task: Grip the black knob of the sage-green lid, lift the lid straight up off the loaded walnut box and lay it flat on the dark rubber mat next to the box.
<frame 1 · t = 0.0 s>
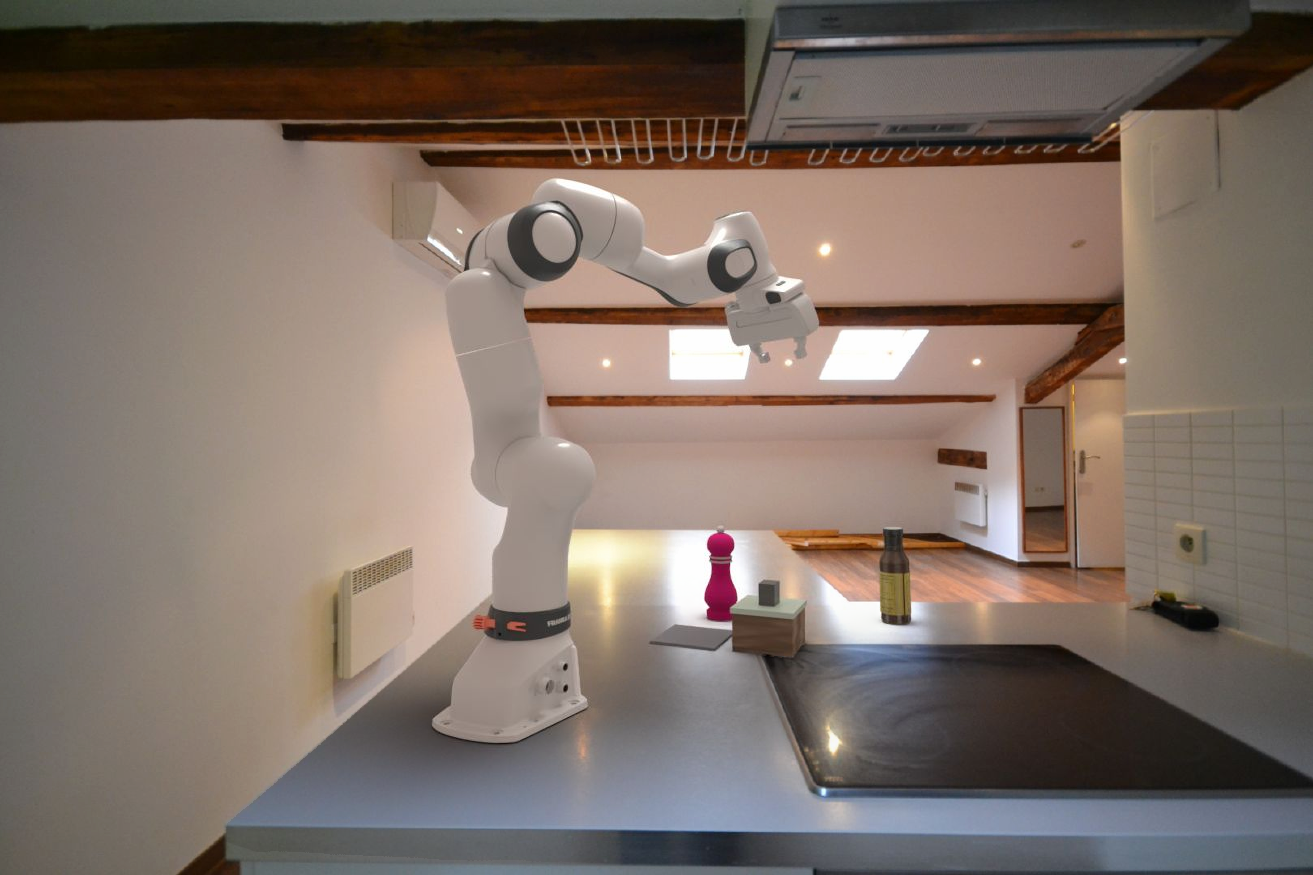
hand: (783, 360, 139), 54 cm above the counter, fingers open, 8 cm apart
box: (769, 646, 131), on the counter
sauce bottle: (895, 622, 148), on the counter
mat: (693, 638, 137), on the counter
pepper mill: (720, 618, 152), on the counter
lid: (769, 614, 131), point 6 cm above the counter, touching box
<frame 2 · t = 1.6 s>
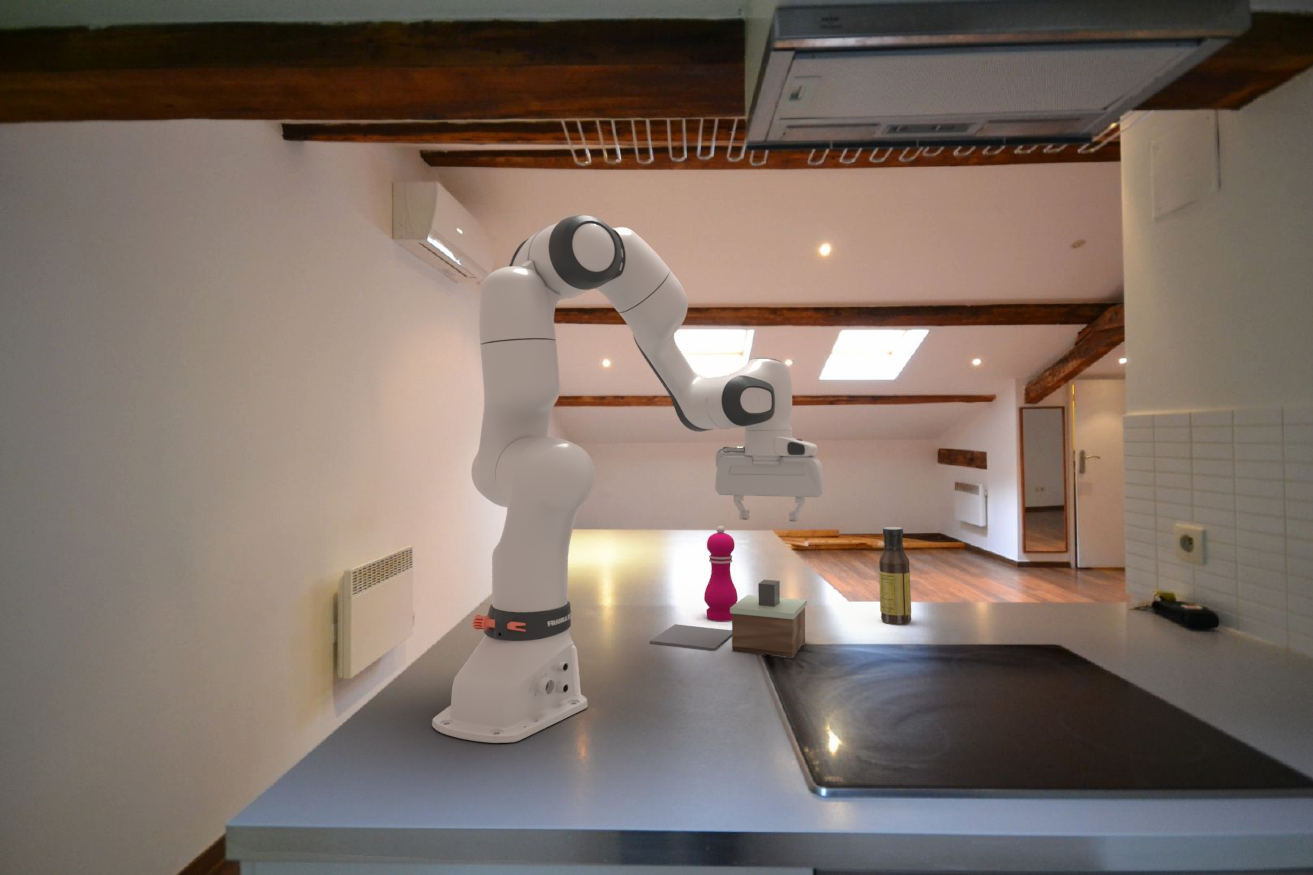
hand: (769, 520, 131), 23 cm above the counter, fingers open, 8 cm apart
nothing on the counter moved.
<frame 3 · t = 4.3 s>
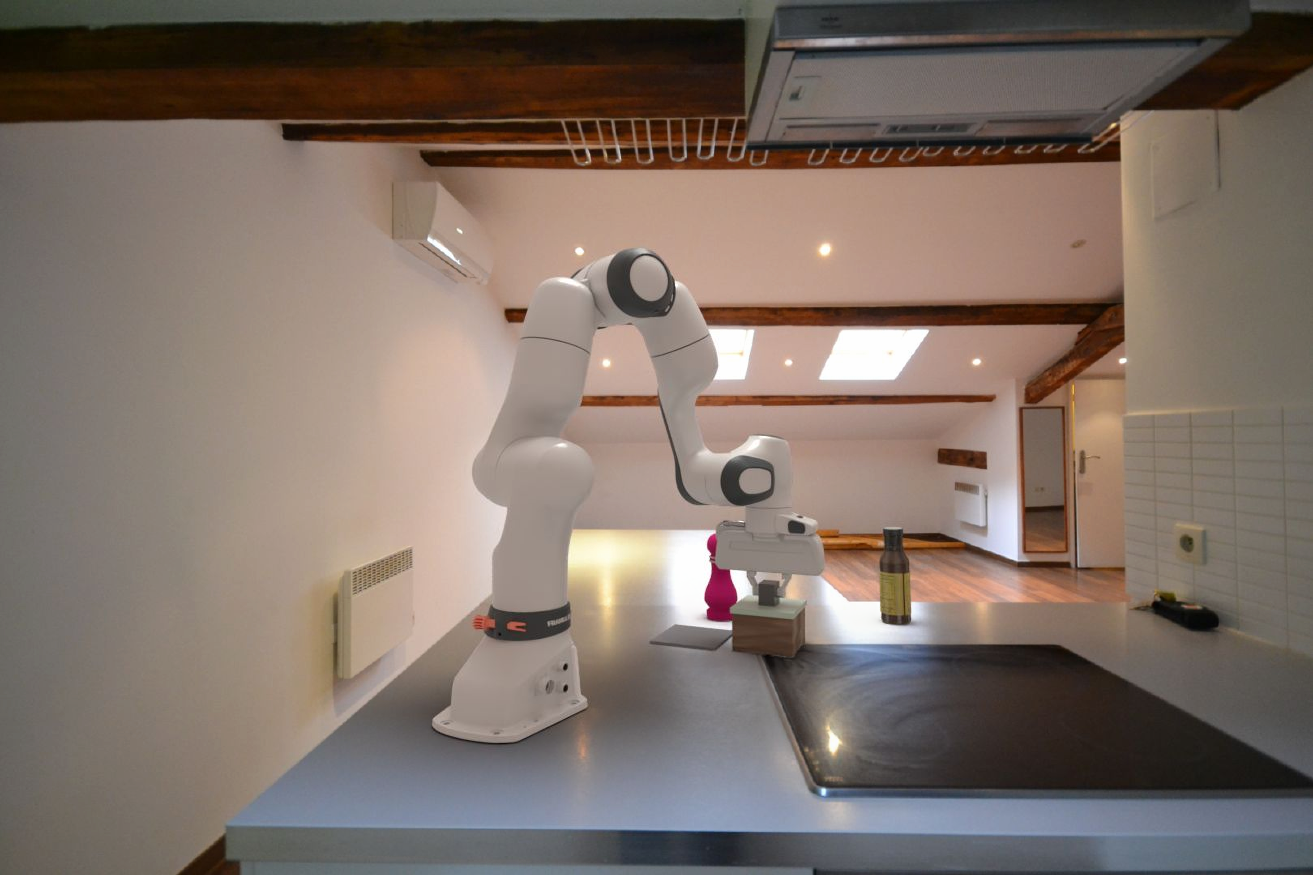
hand: (769, 596, 131), 9 cm above the counter, fingers closed on lid, 3 cm apart
lid: (769, 614, 131), point 6 cm above the counter, touching box, gripper
everything else where it was.
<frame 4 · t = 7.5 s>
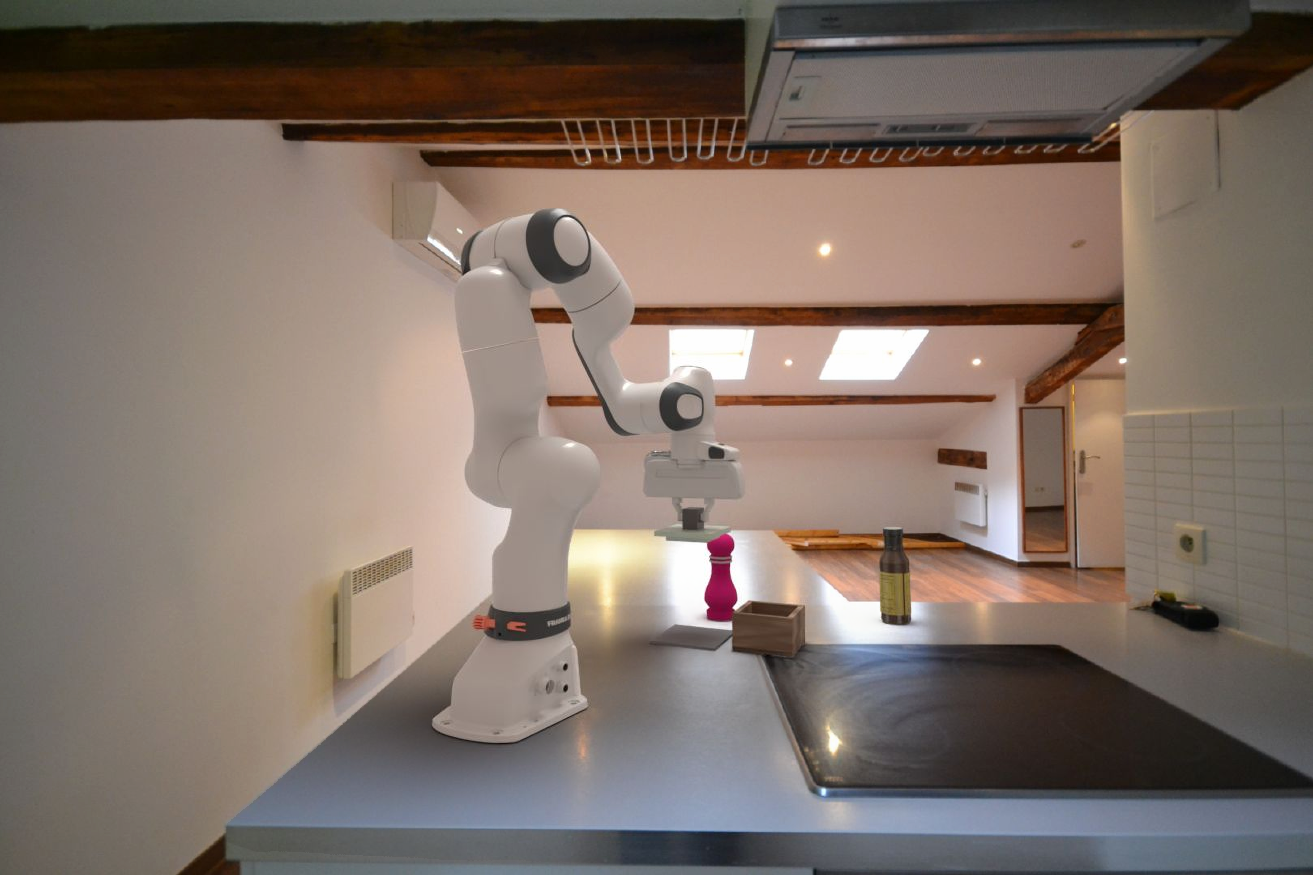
hand: (693, 521, 137), 23 cm above the counter, fingers closed on lid, 3 cm apart
lid: (693, 538, 137), point 19 cm above the counter, touching gripper
everything else where it was.
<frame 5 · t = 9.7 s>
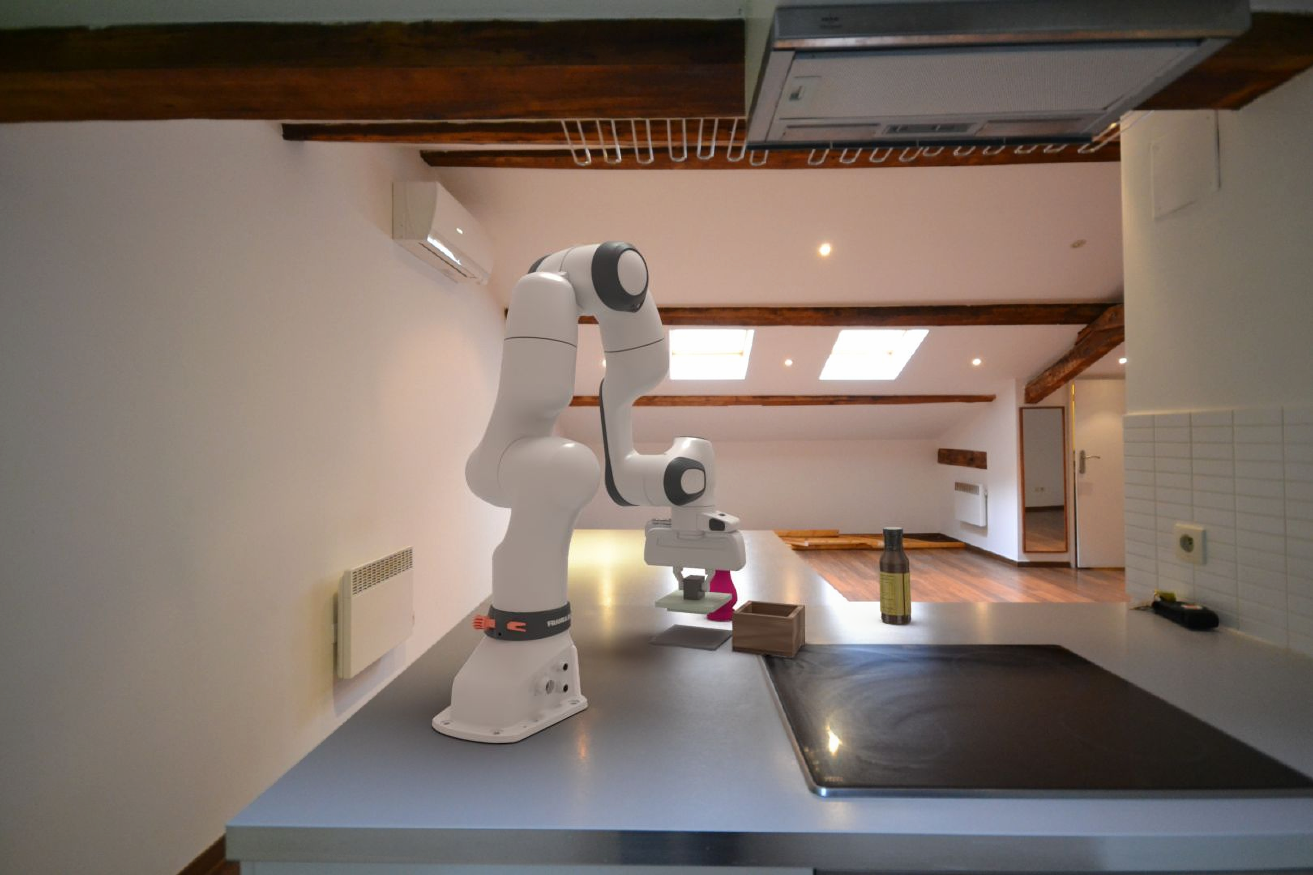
hand: (694, 590, 137), 9 cm above the counter, fingers closed on lid, 3 cm apart
lid: (694, 607, 137), point 6 cm above the counter, touching gripper
everything else where it was.
when the fingers open (5 cm above the counter, at t = 11.3 s): lid drops 1 cm, resting on mat.
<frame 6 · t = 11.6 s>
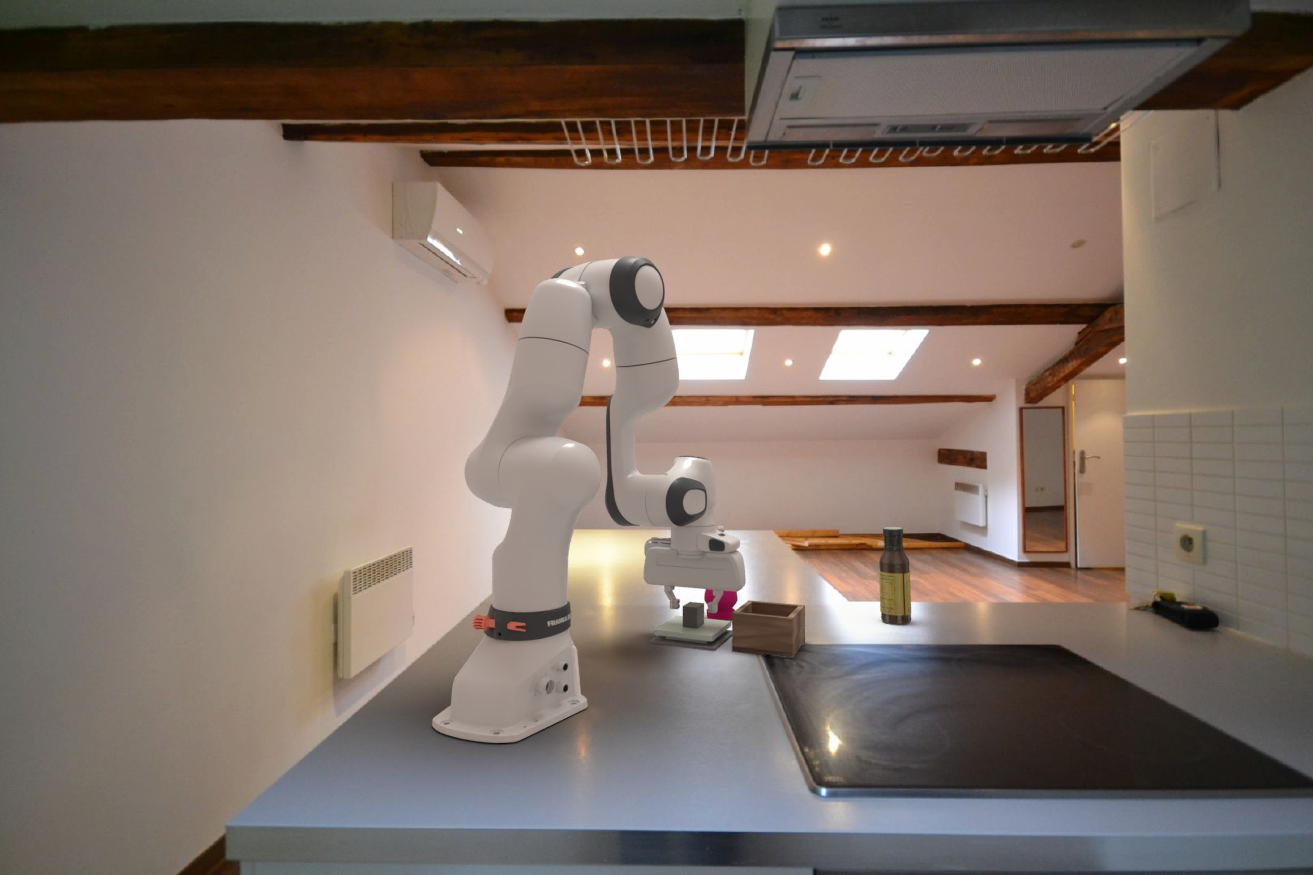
hand: (693, 610, 137), 5 cm above the counter, fingers open, 6 cm apart
lid: (693, 635, 137), resting on mat
everything else where it was.
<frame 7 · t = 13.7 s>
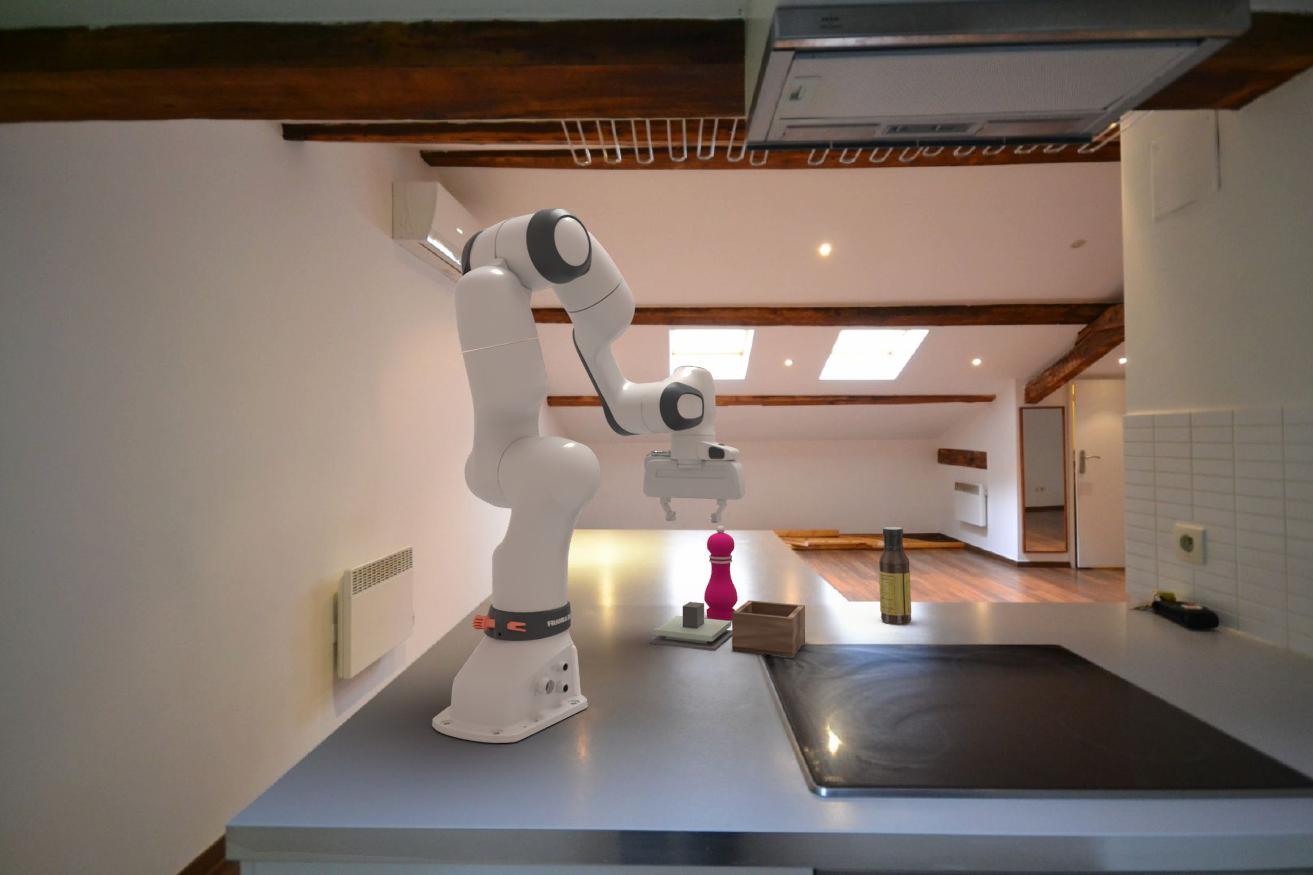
hand: (693, 521, 137), 23 cm above the counter, fingers open, 8 cm apart
nothing on the counter moved.
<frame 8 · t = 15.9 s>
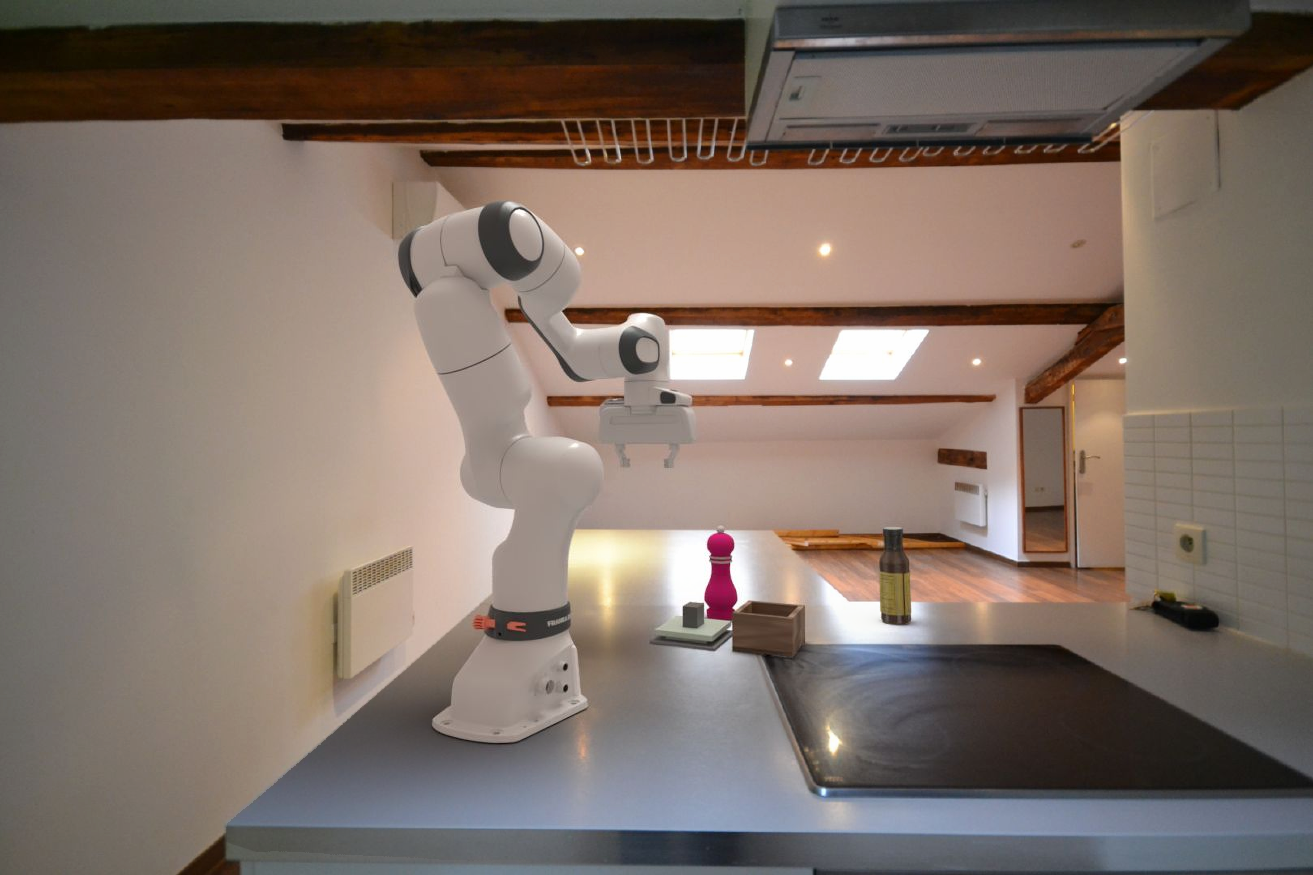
hand: (646, 467, 139), 33 cm above the counter, fingers open, 8 cm apart
nothing on the counter moved.
at the end: lid 0.0 cm off-centre on the mat, point 0.5 cm above the mat's base; lid tilted 0°; the gripper is holding nothing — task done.
